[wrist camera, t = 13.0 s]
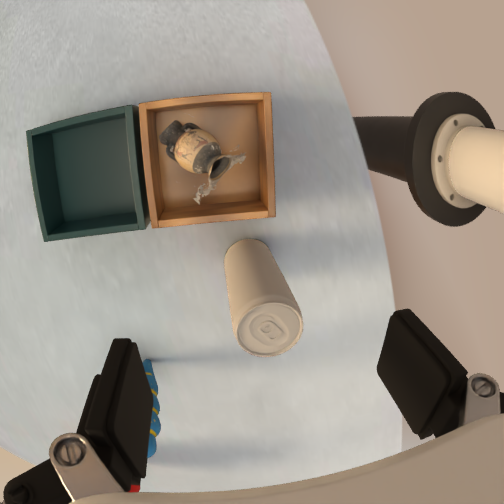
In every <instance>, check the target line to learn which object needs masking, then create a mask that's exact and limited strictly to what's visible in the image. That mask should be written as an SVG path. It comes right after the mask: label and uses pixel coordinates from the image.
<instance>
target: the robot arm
mask: <svg viewBox="0 0 504 504" xmlns="http://www.w3.org/2000/svg"><path fill="white" fill-rule="evenodd" d="M431 170H432V175H433V180H434V183H435V186H436V188H437V190H438V192H439V194H440V195H441V196H442V198H443V199H444V200H445V201H446V202H448V203H449V204H451V205H453V206H455V207H458V208H468V207H472V206H473V205H475V204H477V203H479V204H481V205H484V206H486V207H488V208H491V209H493V210H495V211H498V212H500V213H502V214H504V131H503V130H496V129H489V128H485V126H484V125H483V124H482V122H481V121H480V120H478V119H477V118H476V117H474V116H472V115H469V114H454V115H452V116H450V117H448V118H447V119H446V120H445V121H444V122H443V123H442V124H441V125H440V127H439V129H438V131H437V133H436V135H435V138H434V141H433V146H432V151H431ZM377 373H378V375H379V377H380V378H381V380H382V382H383V383H384V385H385V387H386V388H387V390H388V391H389V393H390V395H391V396H392V398H393V400H394V401H395V403H396V404H397V406H398V408H399V409H400V411H401V413H402V414H403V416H404V418H405V419H406V421H407V423H408V424H409V426H410V428H411V429H412V431H413V432H414V433H415V434H418V436H419V437H420V439H424V438H426V437H429V436H431V435H432V434H434V435H435V439H433V440H431V441H428V442H426V443H424V444H421V445H419V446H416V447H414V448H412V449H409V450H406V451H404V452H401V453H398V454H396V455H393V456H390V457H387V458H384V459H381V460H378V461H375V462H372V463H369V464H366V465H363V466H359V467H356V468H352V469H349V470H345V471H341V472H338V473H334V474H330V475H325V476H321V477H317V478H312V479H307V480H302V481H297V482H292V483H286V484H280V485H274V486H267V487H259V488H251V489H241V490H230V491H214V492H190V493H160V492H129V491H130V490H131V485H140V481H141V478H145V476H146V467H147V456H148V445H149V436H150V427H151V418H152V410H153V394H152V390H151V388H150V385H149V382H148V379H147V376H146V373H145V370H144V366H143V363H142V360H141V357H140V354H139V350H138V347H137V344H136V343H135V342H131V340H130V339H129V338H119V339H114V340H113V342H112V344H111V347H110V350H109V353H108V356H107V358H106V361H105V364H104V367H103V370H102V373H101V375H100V374H97V375H96V376H95V377H94V379H93V382H92V385H91V388H90V391H89V394H88V397H87V400H86V403H85V406H84V409H83V413H82V416H81V419H80V422H79V426H78V429H77V432H76V433H66V434H63V435H60V436H59V437H57V438H56V439H55V440H54V441H53V442H52V444H51V446H50V448H49V456H50V459H48V460H46V461H44V462H42V463H41V464H39V465H37V466H35V467H34V468H32V469H30V470H28V471H27V472H25V473H23V474H21V475H19V476H17V477H15V478H13V479H12V480H10V481H9V482H8V483H7V485H6V486H5V489H4V501H3V502H2V503H1V502H0V504H504V393H502V392H500V389H499V385H498V383H497V382H496V381H495V380H494V379H493V378H492V377H491V376H489V375H486V374H482V373H477V374H474V375H472V376H471V377H470V378H469V379H468V378H467V377H466V375H467V373H468V372H467V370H466V369H465V368H464V367H463V366H462V365H461V364H460V362H459V361H457V359H456V358H455V357H454V356H453V355H452V354H451V352H450V351H449V350H448V349H447V348H446V347H445V346H444V345H443V344H442V343H441V342H440V340H439V339H438V338H437V337H436V336H435V335H434V334H433V333H432V332H431V331H430V330H429V329H428V328H427V326H426V325H425V324H424V323H423V322H422V321H421V320H420V319H419V318H418V317H417V316H416V315H415V314H414V313H413V312H412V311H411V310H410V309H403V310H398V311H395V312H394V313H393V315H392V316H391V317H390V320H389V324H388V328H387V332H386V336H385V340H384V343H383V347H382V351H381V354H380V358H379V361H378V365H377Z"/></svg>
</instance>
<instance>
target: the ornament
mask: <svg viewBox="0 0 504 504" xmlns="http://www.w3.org/2000/svg"><path fill="white" fill-rule="evenodd" d="M143 366H144V370H145V373H146V376H147V379H148V382H149V385H150V388H151V390H152V394H153V410H152V418H151V427H150V436H149V445H148V456H147V458H149V457H151V456H152V455H154V453H155V452H156V439H155V437H156V436H157V435H158V434H159V432H160V430H161V424H160V421H159V418H158V416H157V415H158V414H159V411H160V405H159V402H158V399H157V394H158V386H157V382H156V379H155V376H154V372H153V368H152V364H151V361H150V360H149V359H146V360H144V362H143Z"/></svg>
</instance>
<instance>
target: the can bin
mask: <svg viewBox="0 0 504 504" xmlns="http://www.w3.org/2000/svg"><path fill="white" fill-rule="evenodd" d="M26 136H27V147H28V157H29V165H30V172H31V179H32V185H33V191H34V197H35V202H36V208H37V213H38V217H39V222H40V227H41V231H42V235H43V239H44V242H48V241H55V240H63V239H70V238H77V237H85V236H93V235H101V234H109V233H117V232H126V231H134V230H144V229H146V228H147V226H148V225H149V223H150V221H151V219H150V212H149V205H148V197H147V189H146V181H145V172H144V163H143V153H142V142H141V130H140V116H139V107H137V106H134V105H127V106H122V107H117V108H112V109H107V110H102V111H97V112H93V113H89V114H84V115H80V116H76V117H72V118H68V119H65V120H61V121H57V122H54V123H50V124H47V125H44V126H40V127H37V128H34V129H31V130H28V131H26Z"/></svg>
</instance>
